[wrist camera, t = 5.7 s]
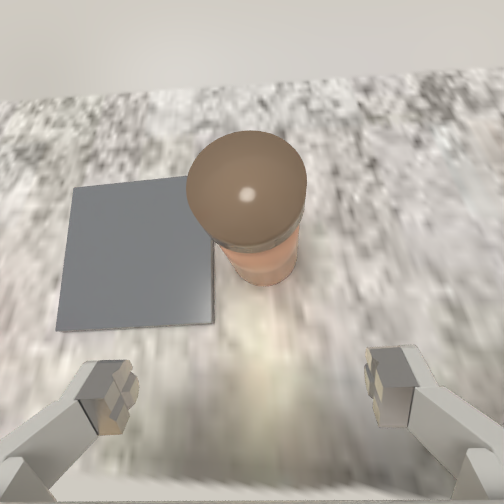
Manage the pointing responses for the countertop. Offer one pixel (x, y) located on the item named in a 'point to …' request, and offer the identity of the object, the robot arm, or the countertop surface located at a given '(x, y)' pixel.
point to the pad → (135, 259)
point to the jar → (251, 202)
